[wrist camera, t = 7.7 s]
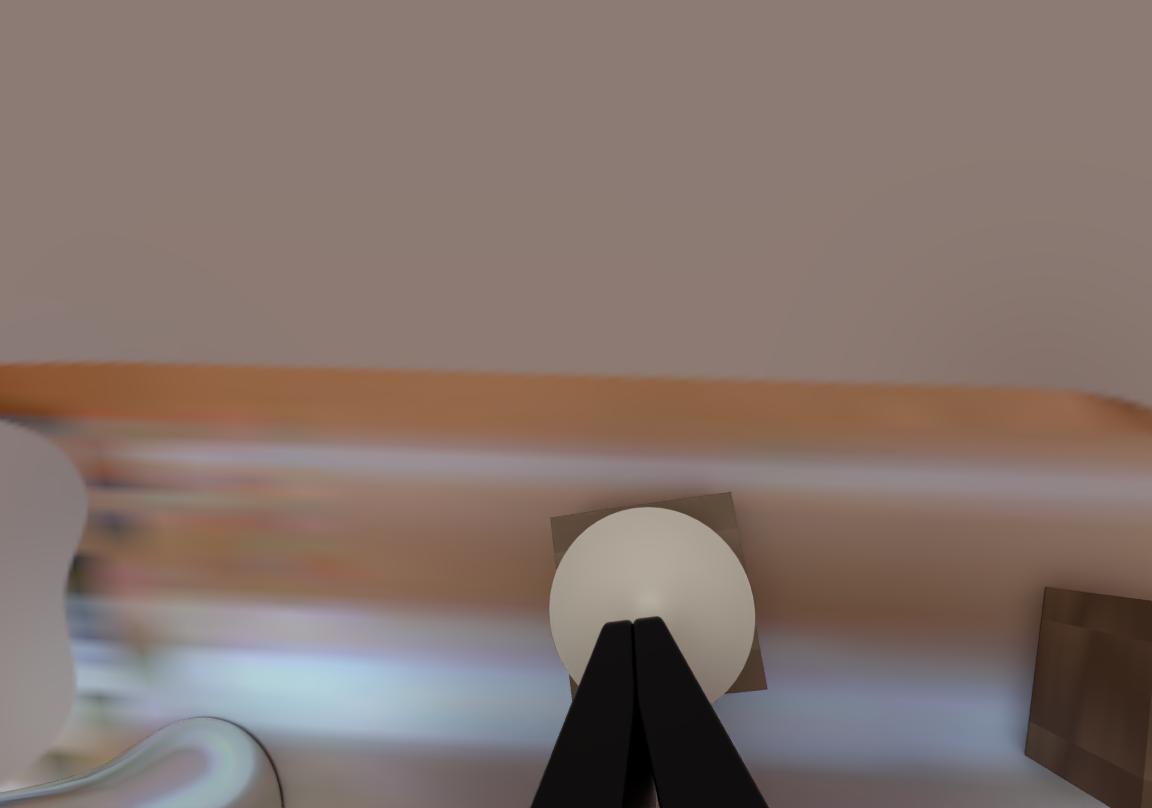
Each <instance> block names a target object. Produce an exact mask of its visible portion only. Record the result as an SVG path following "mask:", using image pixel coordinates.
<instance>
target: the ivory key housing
mask: <svg viewBox="0 0 1152 808" xmlns="http://www.w3.org/2000/svg"><path fill="white" fill-rule="evenodd" d="M642 507H653V508H663V509H669V510H674V511H677V512H680V513H683V514H686V515H688V516H690V517H692V518H694V519H696V520H698V521H700V522H701V523H703V524H704V525H706V526H708V527H709V528H710V529H712V530H713V531H714V532H715V533H716V534H718V535H719V536H720V537H721V538H722V539H723V540H724V541H725V542H726V544H727V545H728V546H729V547H730V548H731V550H732V551H733V552H734V554H735V555H736V557H737V558H738V560H739V561H740V563H741V565H742V567H743V569H744V571H745V566H744V560H743V555H742V549H741V544H740V539H739V533H738V528H737V523H736V517H735V512H734V506H733V501H732V496H731V492H727V493H720V494H713V495H706V496H698V497H691V498H684V499H677V500H670V501H663V502H656V503H649V504H642V505H635V506H628V507H621V508H614V509H607V510H600V511H593V512H586V513H578V514H571V515H564V516H557V517H550V519H551V528H552V536H553V544H554V553H555V561H556V569H557V568H558V566H559V564H560V562H561V560H562V558H563V556H564V555H565V553H566V552H567V550H568V549H569V547H570V546H571V545H572V543H573V542H574V541H575V540H576V539H577V538H578V536H580V535H581V534H582V533H583V532H584V531H585V530H586V529H587V528H589V527H590V526H591V525H593V524H594V523H596V522H597V521H599V520H601V519H603V518H605V517H607V516H609V515H611V514H614V513H617V512H620V511H623V510H628V509H632V508H642ZM745 573H746V571H745ZM569 677H570V686H571V694H572V701H573V699H574V696H575V694H576V691H577V689H578V685H577V683H576V682H575V681H574V680H573V678H572V677H571V676H570V674H569ZM766 689H767V684H766V679H765V673H764V668H763V662H762V657H761V652H760V646H759V641H758V636H757V630H756V625H755V630H754V637H753V642H752V646H751V650H750V653H749V656H748V658H747V661H746V663H745V665H744V668H743V669H742V671H741V673H740V674H739V676H738V678H737V679H736V681H735V682H734V683H733V684H732V686H731V687H730V688H729V689H728V690H727V691H726V692H725V693H724V694H728V693H738V692H747V691H757V690H766Z"/></svg>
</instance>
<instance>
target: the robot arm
mask: <svg viewBox="0 0 1152 808" xmlns="http://www.w3.org/2000/svg"><path fill="white" fill-rule="evenodd" d="M655 788H656V793H657V797H658V802H659V807H660V808H769V807H768V805H767V803H766V802H765V800H764V798H763V796H762V795H761V793H760V791H759V789H758V787H757V786H756V784H755V782H754V780H753V779H752V777H751V775H750V773H749V771H748V770H747V768H746V766H745V764H744V763H743V761H742V759H741V757H740V755H739V754H738V752H737V750H736V748H735V747H734V745H733V743H732V741H731V739H730V738H729V736H728V734H727V732H726V731H725V729H724V727H723V725H722V723H721V722H720V720H719V718H718V716H717V715H716V713H715V711H714V709H713V707H712V706H711V704H710V702H709V700H708V699H707V697H706V695H705V693H704V691H703V690H702V688H701V686H700V684H699V683H698V681H697V679H696V677H695V675H694V674H693V672H692V670H691V668H690V667H689V665H688V663H687V661H686V659H685V658H684V656H683V654H682V652H681V651H680V649H679V647H678V645H677V643H676V642H675V640H674V638H673V636H672V635H671V633H670V631H669V629H668V627H667V626H666V624H665V622H664V621H663V619H662V618H661V617H659V616H653V617H645V618H638V619H636V620H635V621H634V623H632V621H630V620H620V621H612V622H607V623H605V624H604V625H603V627H602V629H601V631H600V634H599V636H598V639H597V641H596V644H595V646H594V649H593V651H592V654H591V656H590V659H589V661H588V664H587V666H586V669H585V671H584V674H583V676H582V679H581V681H580V684H579V686H578V689H577V691H576V694H575V696H574V699H573V701H572V704H571V706H570V709H569V711H568V714H567V716H566V719H565V721H564V724H563V726H562V729H561V731H560V734H559V736H558V739H557V741H556V744H555V746H554V749H553V751H552V754H551V756H550V759H549V761H548V764H547V766H546V769H545V771H544V774H543V776H542V779H541V781H540V784H539V786H538V788H537V791H536V793H535V796H534V798H533V801H532V803H531V806H530V808H656V795H655Z"/></svg>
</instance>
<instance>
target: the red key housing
mask: <svg viewBox="0 0 1152 808" xmlns="http://www.w3.org/2000/svg"><path fill="white" fill-rule="evenodd" d="M1025 755H1026V756H1027V757H1029V758H1031V759H1032V760H1034V761H1036V762H1037V763H1039V764H1041V765H1042V766H1044V767H1045V768H1047V769H1049V770H1050V771H1052V772H1054V773H1055V774H1057V775H1058V776H1060V777H1062V778H1063V779H1065V780H1067V781H1068V782H1070V783H1071V784H1073V785H1075V786H1076V787H1078V788H1080V789H1081V790H1083V791H1085V792H1086V793H1088V794H1089V795H1091V796H1093V797H1094V798H1096V799H1098V800H1099V801H1101V802H1102V803H1104V804H1106V805H1107V806H1109V807H1111V808H1152V601H1148V600H1140V599H1132V598H1125V597H1117V596H1109V595H1102V594H1094V593H1086V592H1079V591H1071V590H1063V589H1056V588H1048V587H1046V589H1045V597H1044V605H1043V614H1042V622H1041V630H1040V638H1039V646H1038V654H1037V662H1036V670H1035V678H1034V687H1033V695H1032V703H1031V711H1030V719H1029V727H1028V735H1027V743H1026V751H1025Z"/></svg>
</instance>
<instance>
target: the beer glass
mask: <svg viewBox="0 0 1152 808" xmlns="http://www.w3.org/2000/svg"><path fill="white" fill-rule="evenodd" d="M0 808H282V799H281V792H280V788H279V783H278V780H277V777H276V774H275V771H274V769H273V766H272V764H271V762H270V760H269V758H268V757H267V755H266V753H265V752H264V750H263V749H262V748H261V746H260V745H259V744H258V743H257V742H256V741H255V740H254V739H253V738H252V737H251V736H250V735H249V734H248V733H247V732H245V731H244V730H242V729H241V728H239V727H238V726H236V725H234V724H232V723H229V722H227V721H223V720H220V719H215V718H190V719H185V720H181V721H178V722H175V723H172V724H170V725H168V726H165V727H163V728H161V729H159V730H157V731H156V732H154V733H152V734H150V735H149V736H147V737H146V738H144V739H142V740H141V741H139V742H138V743H136V744H134V745H133V746H131V747H130V748H128V749H127V750H125V751H124V752H122V753H120V754H119V755H117V756H116V757H114V758H112V759H111V760H109V761H107V762H105V763H103V764H102V765H99V766H97V767H95V768H93V769H90V770H88V771H86V772H83V773H80V774H77V775H74V776H71V777H68V778H65V779H62V780H58V781H53V782H49V783H44V784H40V785H35V786H31V787H26V788H22V789H16V790H11V791H6V792H1V793H0Z"/></svg>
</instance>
